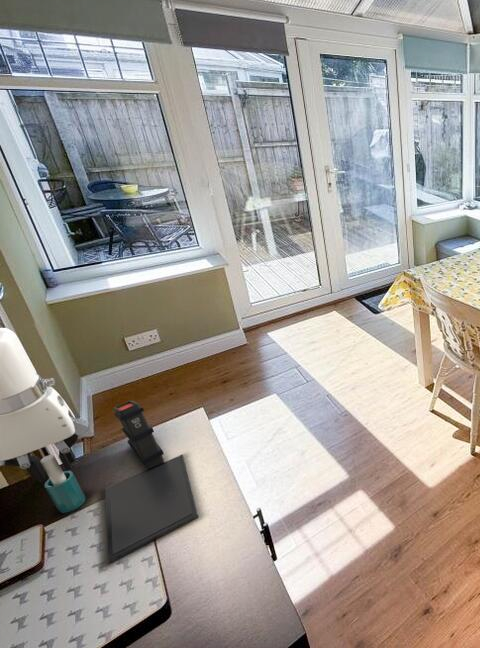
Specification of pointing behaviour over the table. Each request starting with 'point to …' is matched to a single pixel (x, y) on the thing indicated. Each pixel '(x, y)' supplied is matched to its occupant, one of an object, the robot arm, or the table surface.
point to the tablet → (148, 507)
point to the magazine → (139, 434)
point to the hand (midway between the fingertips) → (56, 470)
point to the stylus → (53, 470)
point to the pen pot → (66, 493)
